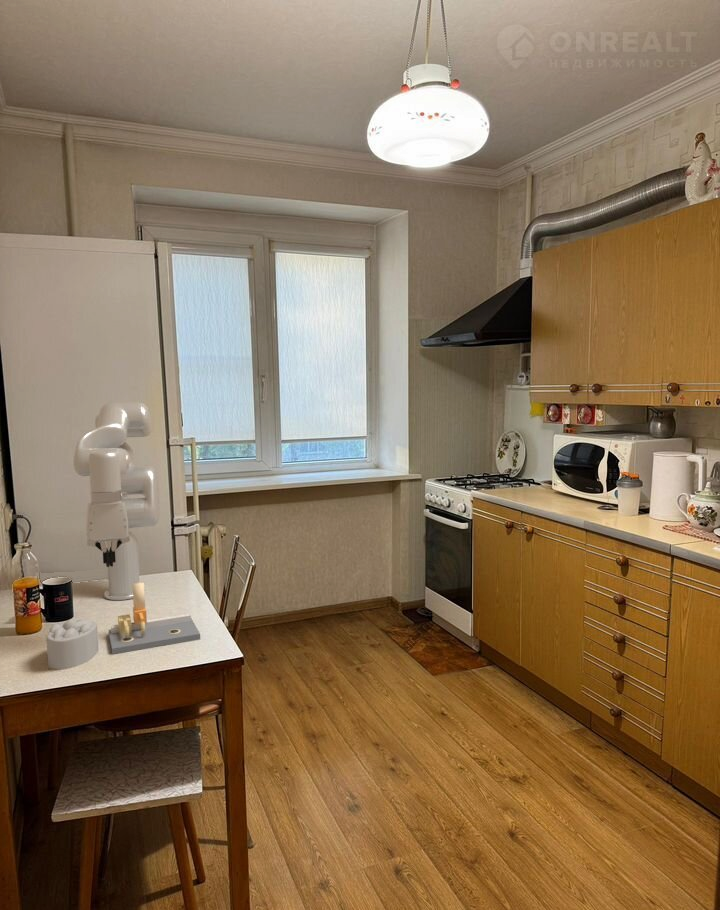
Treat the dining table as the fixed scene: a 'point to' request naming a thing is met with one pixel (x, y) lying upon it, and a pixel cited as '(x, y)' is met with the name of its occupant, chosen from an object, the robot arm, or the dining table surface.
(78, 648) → the lumpy-topped squat cylinder
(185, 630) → the plate
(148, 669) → the dining table surface
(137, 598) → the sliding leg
